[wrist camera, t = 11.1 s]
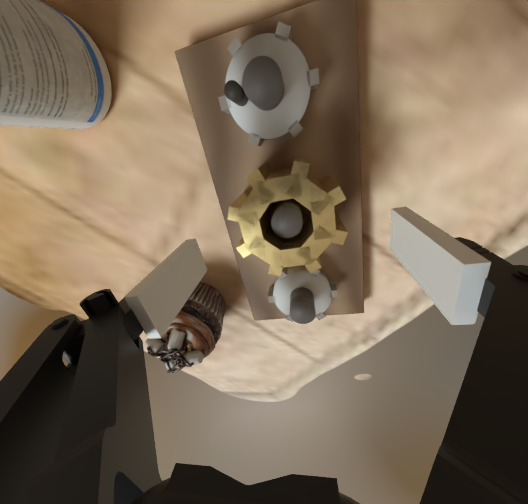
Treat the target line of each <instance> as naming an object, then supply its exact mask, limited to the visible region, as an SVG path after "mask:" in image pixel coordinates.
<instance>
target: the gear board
mask: <svg viewBox="0 0 528 504" xmlns="http://www.w3.org/2000/svg"><path fill="white" fill-rule="evenodd" d="M175 54H176V58H177V61H178V64H179V68H180V71H181V75H182V78H183V81H184V85H185V88H186V91H187V95H188V98H189V102H190V105H191V108H192V112H193V115H194V118H195V122H196V125H197V129H198V132H199V135H200V139H201V142H202V145H203V149H204V152H205V156H206V159H207V162H208V166H209V169H210V172H211V176H212V179H213V183H214V186H215V189H216V193H217V196H218V199H219V203H220V206H221V210H222V213H223V216H224V220H225V223H226V226H227V230H228V233H229V237H230V240H231V243H232V247H233V250H234V253H235V257H236V260H237V263H238V267H239V270H240V274H241V277H242V280H243V284H244V287H245V290H246V294H247V297H248V301H249V304H250V307H251V311H252V314H253V317H254V320H267V319H282V318H286V319H287V320H290V321H295V322H297V323H301V324H306V323H309V322H311V321H313V320H314V318H315V317H317V318H318V319H319V320H320V319H322V318H324V317H326V316H325V315H339V314H354V313H364V294H363V254H362V213H361V172H360V131H359V91H358V50H357V9H356V0H316V1H314V2H311V3H308V4H305V5H302V6H300V7H297V8H294V9H291V10H288V11H286V12H283V13H280V14H277V15H274V16H272V17H269V18H266V19H263V20H260V21H258V22H255V23H252V24H249V25H246V26H244V27H241V28H238V29H235V30H232V31H230V32H227V33H224V34H221V35H218V36H216V37H213V38H210V39H207V40H204V41H202V42H199V43H196V44H193V45H190V46H188V47H185V48H182V49H179V50H176V51H175ZM294 156H296V157H301V158H306V159H307V160H308V162H309V164H310V165H309V169H308V173H309V174H311V175H312V176H313V177H315V178H316V179H317V180H319V181H320V180H322V179H324V178H325V177H327V176H328V175H329V176H330V177H331V178H332V179H333V180H334V181H335V182H336V183H337V184H338V185H339V186H340V188H341V190H342V192H343V194H344V196H345V198H346V200H344V201H342V202H341V203H339V204H337V205H335V206H334V210H335V212H337V214H338V216H339V218H340V219H341V221H342V223H343V224H344V226H345V228H346V230H347V231H348V234H347V236H346V239H345V241H344V244H343V245H340V244H336V243H330V245H329V246H328V247H327V248H326V249H325V250H324V251H323V252H322V253H321V254H320V256H319V257H320V262H321V267H322V268H320V269H318V270H316V271H314V272H311V273H310V272H309V271H308V270H307V268H306V267H305V265H300V266H292V267H283V268H282V272H281V276H276V275H272V274H268V272H269V267H270V264H268V263H267V262H265V261H264V260H262V259H260V258H259V257H257V256H256V255H254V254H253V253H252V254H250V255H248V256H246V257H245V258H243V257H242V256H241V254H240V253H239V252H238V251H237V249H236V247H237V245H238V243H239V242H240V240H241V238H242V232H241V228H240V225H239V222H236V221H232V220H227V219H228V210H229V206H230V205H231V204H232V203H233V202H234V201H235V200H236V199H237V198H238V197H239V196H240V195H241V194H242V193H243V192H246V193H251V191H252V189H253V188H252V186H251V185H250V183H249V182H248V181H247V179H246V177H247V176H248V175H250V174H251V173H252V172H254V171H255V170H257V169H258V168H259V167H261V166H262V165H264V164H265V163H266V162H267V163H268V165H269V166H270V168H271V170H272V171H275V170H280V169H285V168H289V167H292V165H293V160H294ZM268 209H269V214H270V218H271V219H272V220H271V226H272V229H273V231H274V232H275V233H276V234H277V235H278V236H280V237H283V238H291V237H294V236H295V235H297V234H298V233H299V232H300V231H301V229H302V225H303V220H304V219H305V217H306V216H307V215H308V214H309V212H310V210H309V209H308V208H306V207H305V206H303V205H302V204H300V203H299V202H298V201H296V200H295V199H293V198H292V199H287V200H281V201H276V202H271V203H270V204H269V206H268Z"/></svg>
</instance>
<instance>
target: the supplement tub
mask: <svg viewBox="0 0 528 504" xmlns="http://www.w3.org/2000/svg"><path fill="white" fill-rule="evenodd" d="M111 96H112V90H111V81H110V76H109V72H108V69H107V66H106V63H105V61H104V58H103V56H102V54H101V52H100V51H99V49H98V47H97V46H96V44H95V43H94V41H93V40H92V38H91V37H90V36H89V35H88V34H87V33H86V31H85V30H84V29H83V28H82V27H81V26H80V25H78V24H77V23H76V22H75V21H74V20H72V19H71V18H69V17H68V16H66V15H64V14H63V13H61V12H59V11H57V10H55V9H54V8H52V7H50V6H48V5H46V4H44V3H43V2H41V1H39V0H0V126H21V127H45V128H69V129H87V128H91V127H93V126H96V125H97V124H99V123H100V122H101V121H102V120H103V118H104V117H105V115H106V114H107V112H108V110H109V107H110V103H111Z"/></svg>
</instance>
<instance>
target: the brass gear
mask: <svg viewBox="0 0 528 504" xmlns="http://www.w3.org/2000/svg"><path fill="white" fill-rule="evenodd" d="M309 165H310V164H309V162H308V160H307V159H306V158H301V157H296V156H294V160H293V165H292V167H289V168H285V169H280V170H275V171H272V170H271V168H270V166H269V165H268V163H267V162H266V163H265V164H264V165H262V166H261V167H259V168H258V169H257V170H255V171H254V172H252V173H251V174H250V175H248V176H247V177H246V179H247V181H248V182H249V183H250V185H251V186H252V188H253V189H252V191H251V193H246V192H243V193H242V194H241V195H240V196H239V197H238V198H237V199H236V200H235V201H234V202H233V203H232V204H231V205H230V206H229V210H228V219H227V220H232V221H236V222H239V225H240V228H241V232H242V238H241V240H240V242H239V243H238V245H237V247H236V249H237V251H238V252H239V253H240V254H241V256H242V257H243V258H245V257H246V256H248V255H250V254H252V253H253V254H254V255H256V256H257V257H259V258H260V259H262V260H264V261H265V262H267V263H268V264H270V267H269V272H268V274H272V275H276V276H281V272H282V268H283V267H292V266H300V265H305V267H306V268H307V270H308V271H309V272H310V273H311V272H314V271H316V270H318V269H320V268H322V267H321V262H320V257H319V256H320V254H321V253H322V252H323V251H324V250H325V249H326V248H327V247H328V246H329V245H330V243H336V244H340V245H343V244H344V241H345V239H346V236H347V234H348V231H347V230H346V228H345V226H344V224H343V223H342V221H341V219H340V218H339V216H338V214H337V212H335V210H334V206H335V205H337V204H339V203H341V202H342V201H344V200H346V198H345V196H344V194H343V192H342V190H341V188H340V186H339V185H338V184H337V183H336V182H335V181H334V180H333V179H332V178H331V177H330V176H329V175H328V176H327V177H325V178H324V179H322V180H320V181H319V180H317V179H316V178H315V177H313V176H312V175H311V174H309V173H308V169H309ZM292 198H293V199H295V200H296V201H298V202H299V203H300V204H302V205H303V206H305V207H306V208H308V209H309V210H310V212H309V214H308V215H307V216H306V217H305V219H304V220H303V225H302V229H301V231H300V232H299V233H298V234H297V235H295V236H294V237H291V238H283V237H280V236H278V235H277V234H276V233H275V232H274V231H273V229H272V226H271V220H272V219H271V218H270V214H269V209H268V206H269V204H270V203H271V202H276V201H281V200H287V199H292Z"/></svg>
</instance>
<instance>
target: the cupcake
mask: <svg viewBox="0 0 528 504" xmlns="http://www.w3.org/2000/svg"><path fill="white" fill-rule="evenodd" d="M224 311H225V303H224V300H223V297H222V295H220V293H219V292H218V291H217V290H216V289H215V288H214V287H212V286H210V285H208V284H205V283H202V282H199V284H198V285H197V287H196V288H195V289H194V291H193V292H192V294H191V295H190V297H189V298H188V300H187V301H186V303H185V304H184V306H183V307H182V308H181V310H180V311H179V313H178V314H177V316H176V317H175V319H174V320H173V322H172V323H171V325H170V326H169V328H168V329H167V330H166V332H165V333H164V335H163V336H162V338H153V339H149V338H148V339H147V340H146V342H145V347H146V348H147V350H148V354H149V355H150V356H155V357H156V356H161V357H160V358H159V359H160V360H161V361H163V362H164V363H166V368H167V369H168V371H167V373H170V372H172V373H174V372H176V371H179V370H181V369H182V368H183V367H185V366H186V367H191V366H192V365H195V364H199V363H201V362H202V360H203V358H205V357H206V356H208V355H209V354H210V353H211V352H212V351H213V350H214V348H215V344H216V343H217V341H218V340H219V338H220V335H221V331H222V324H223V317H224ZM163 358H164V359H163Z"/></svg>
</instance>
